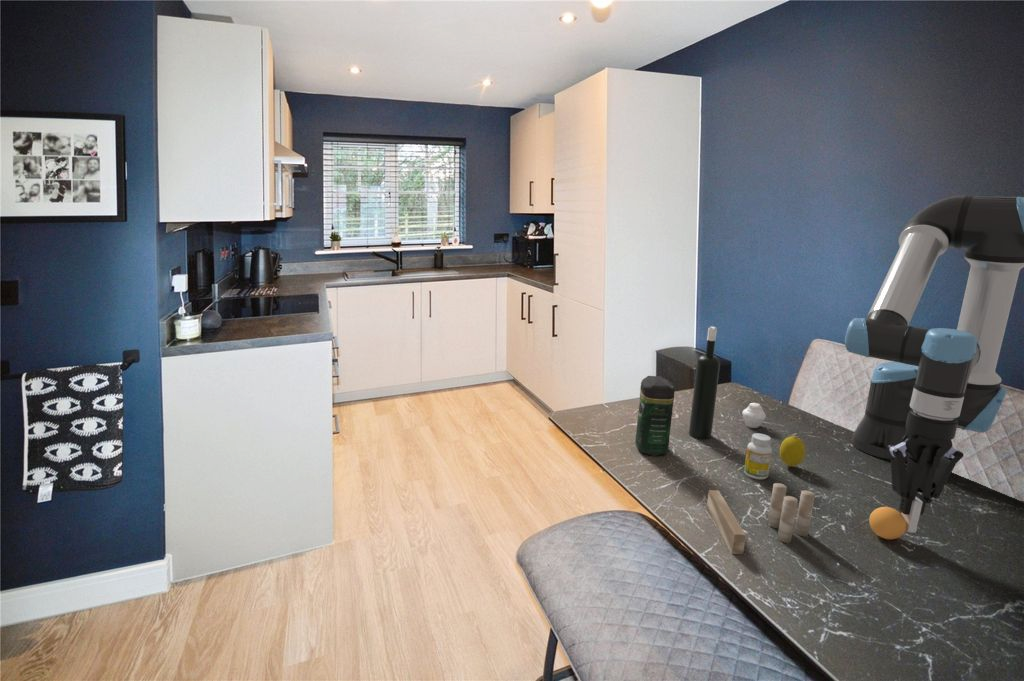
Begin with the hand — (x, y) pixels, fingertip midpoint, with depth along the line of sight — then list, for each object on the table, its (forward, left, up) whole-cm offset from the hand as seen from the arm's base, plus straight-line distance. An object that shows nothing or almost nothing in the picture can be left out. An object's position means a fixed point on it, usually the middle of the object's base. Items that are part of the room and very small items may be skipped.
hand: (907, 528), depth 113 cm
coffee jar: (+42, -36, -3) cm, 55 cm away
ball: (+4, 0, +1) cm, 4 cm away
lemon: (+10, -29, -3) cm, 31 cm away
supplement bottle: (+20, -24, -3) cm, 31 cm away
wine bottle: (+27, -46, -3) cm, 54 cm away
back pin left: (+24, +2, -2) cm, 24 cm away
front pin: (+20, 0, -2) cm, 20 cm away
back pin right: (+24, -3, -2) cm, 24 cm away
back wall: (+35, 0, -2) cm, 35 cm away
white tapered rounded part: (+10, -54, -3) cm, 55 cm away
